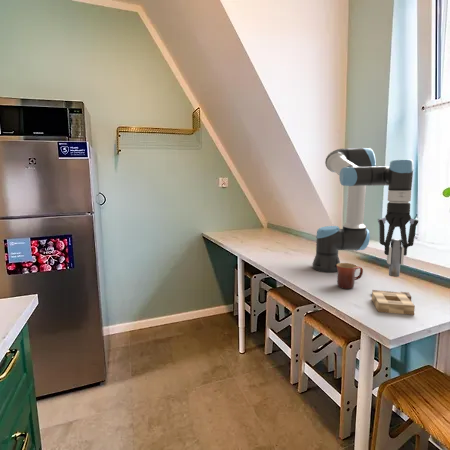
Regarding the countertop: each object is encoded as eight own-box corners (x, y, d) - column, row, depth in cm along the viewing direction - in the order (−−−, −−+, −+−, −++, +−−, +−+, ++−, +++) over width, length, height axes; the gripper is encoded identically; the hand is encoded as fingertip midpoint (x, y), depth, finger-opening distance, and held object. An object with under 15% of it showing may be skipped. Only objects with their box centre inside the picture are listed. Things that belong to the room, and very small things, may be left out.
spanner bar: (373, 297, 130) (373, 293, 130) (371, 293, 135) (372, 288, 135) (411, 301, 126) (411, 296, 126) (408, 296, 130) (408, 292, 130)
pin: (387, 273, 120) (390, 238, 118) (398, 274, 119) (400, 238, 117) (389, 276, 117) (392, 240, 115) (400, 277, 116) (403, 240, 114)
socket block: (371, 299, 128) (372, 291, 127) (403, 302, 125) (404, 293, 124) (378, 311, 116) (379, 303, 116) (414, 314, 113) (414, 305, 113)
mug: (339, 290, 138) (340, 268, 137) (332, 283, 147) (333, 263, 145) (366, 289, 139) (367, 267, 137) (357, 283, 147) (358, 262, 146)
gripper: (376, 202, 113) (373, 264, 116) (428, 202, 109) (422, 267, 112) (372, 201, 120) (369, 259, 123) (420, 201, 116) (415, 261, 119)
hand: (394, 263), depth 118 cm, fingers closed on pin, 3 cm apart
